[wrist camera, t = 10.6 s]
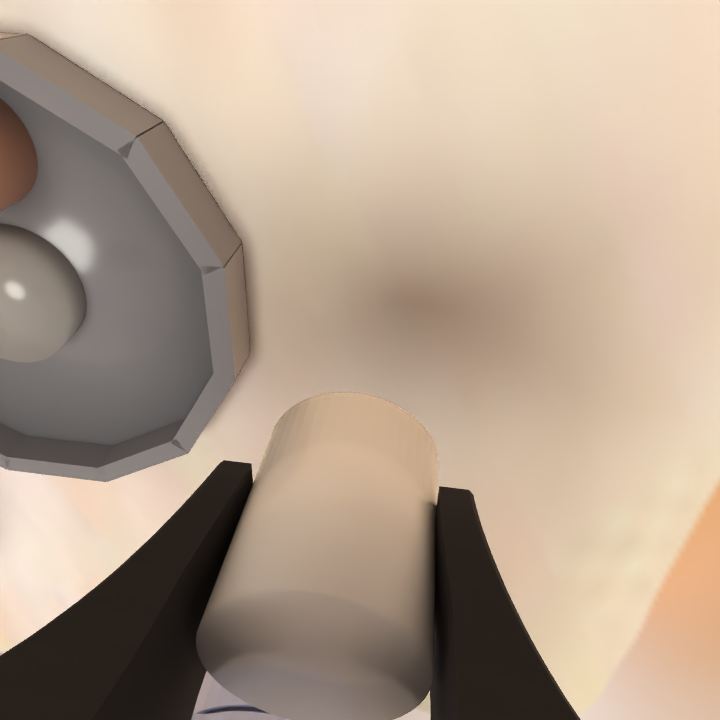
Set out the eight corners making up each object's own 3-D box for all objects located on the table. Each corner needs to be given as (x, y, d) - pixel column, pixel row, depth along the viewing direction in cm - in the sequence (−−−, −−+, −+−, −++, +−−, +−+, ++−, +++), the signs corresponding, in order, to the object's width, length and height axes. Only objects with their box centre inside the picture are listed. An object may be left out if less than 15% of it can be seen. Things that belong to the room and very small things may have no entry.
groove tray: (259, 466, 27) (246, 499, 26) (-91, 425, 29) (-124, 453, 27) (226, 45, 18) (203, 54, 16) (-292, 15, 19) (-361, 20, 18)
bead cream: (428, 528, 15) (420, 741, 11) (273, 509, 16) (207, 707, 11) (448, 402, 13) (446, 610, 9) (265, 383, 13) (182, 574, 9)
